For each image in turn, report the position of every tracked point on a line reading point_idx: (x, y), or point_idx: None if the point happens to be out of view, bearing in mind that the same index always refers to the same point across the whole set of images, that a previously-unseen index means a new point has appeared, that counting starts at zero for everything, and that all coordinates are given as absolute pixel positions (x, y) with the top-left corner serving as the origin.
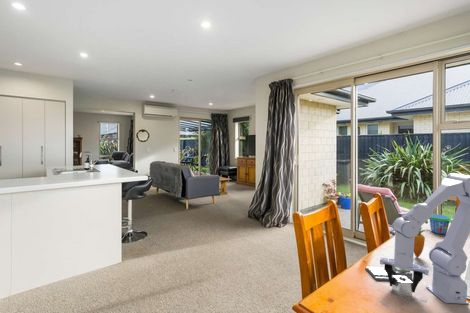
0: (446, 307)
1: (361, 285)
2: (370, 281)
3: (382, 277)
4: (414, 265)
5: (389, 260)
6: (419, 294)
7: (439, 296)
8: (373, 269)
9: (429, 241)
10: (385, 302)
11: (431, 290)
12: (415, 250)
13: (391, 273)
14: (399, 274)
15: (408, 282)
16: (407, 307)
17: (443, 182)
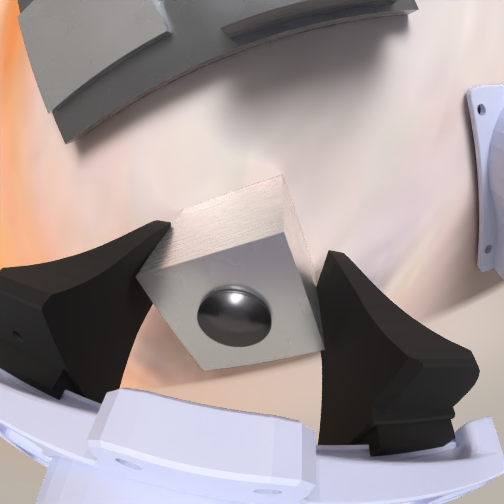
0: (456, 302)
1: (37, 254)
2: (55, 178)
3: (105, 99)
4: (406, 483)
5: (18, 444)
6: (379, 217)
7: (487, 224)
8: (46, 19)
9: None
10: (157, 359)
11: (482, 156)
12: None
13: (115, 381)
14: (260, 19)
15: (281, 356)
16: (251, 368)
17: None
